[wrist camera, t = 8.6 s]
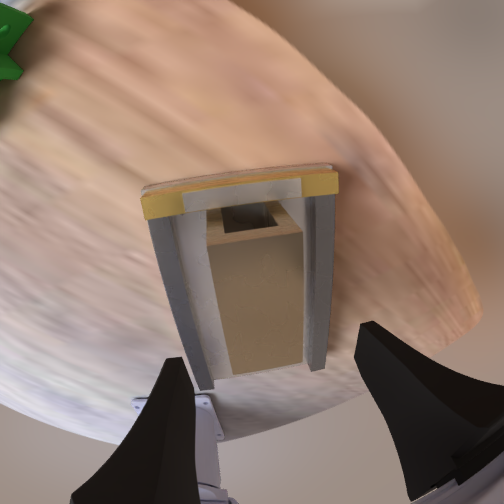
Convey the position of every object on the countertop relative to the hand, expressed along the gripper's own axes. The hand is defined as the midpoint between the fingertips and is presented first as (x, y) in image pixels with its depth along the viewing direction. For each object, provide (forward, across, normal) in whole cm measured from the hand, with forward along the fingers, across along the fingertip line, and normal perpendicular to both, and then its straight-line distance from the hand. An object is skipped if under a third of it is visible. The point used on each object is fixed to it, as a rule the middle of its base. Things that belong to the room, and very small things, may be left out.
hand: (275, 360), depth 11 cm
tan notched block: (+8, 0, 0) cm, 8 cm away
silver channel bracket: (+9, 0, +2) cm, 9 cm away
